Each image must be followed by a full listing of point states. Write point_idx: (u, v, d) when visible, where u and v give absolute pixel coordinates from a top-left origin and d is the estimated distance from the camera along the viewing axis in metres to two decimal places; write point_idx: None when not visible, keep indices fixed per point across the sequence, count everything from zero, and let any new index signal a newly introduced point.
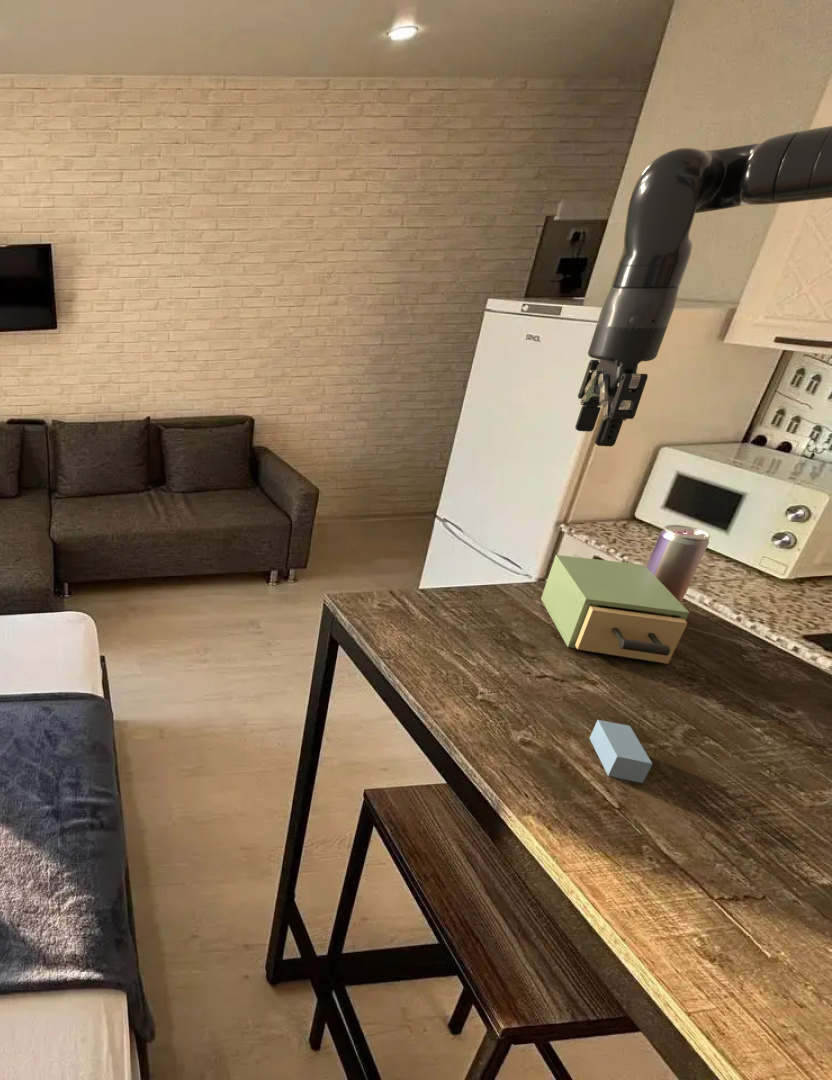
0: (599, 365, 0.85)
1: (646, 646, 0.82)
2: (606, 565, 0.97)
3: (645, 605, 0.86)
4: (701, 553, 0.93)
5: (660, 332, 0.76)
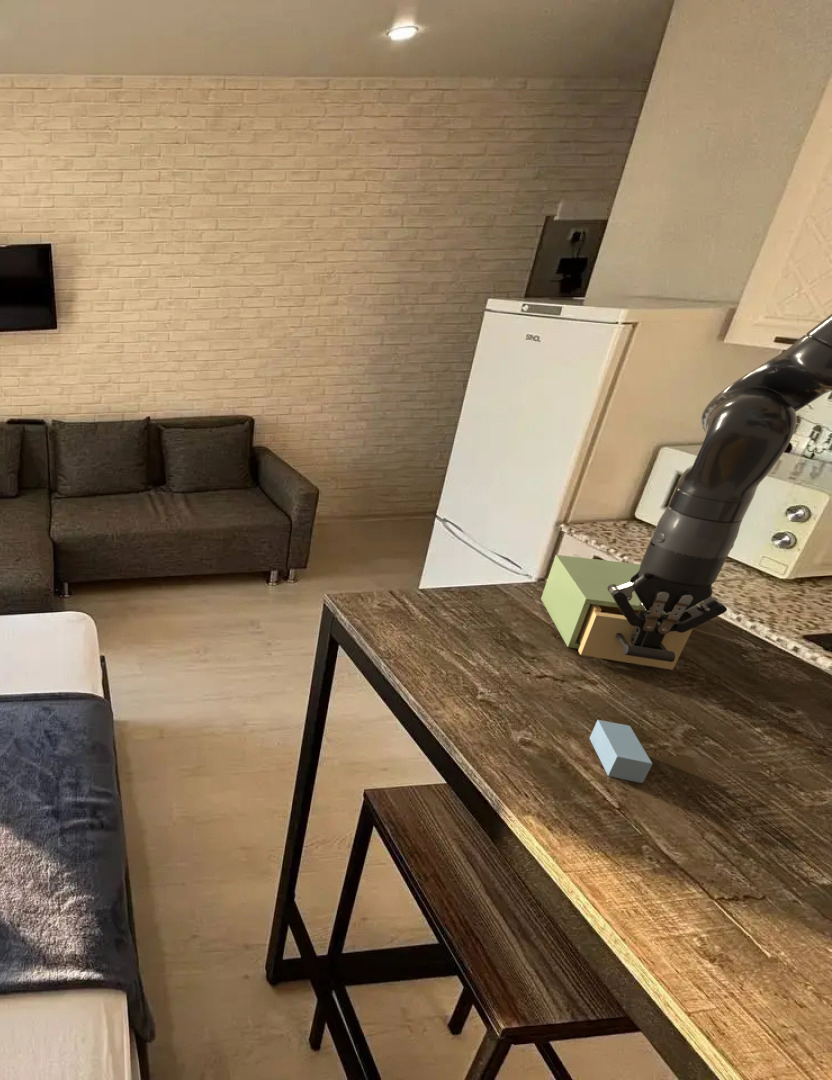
0: (647, 584, 0.79)
1: (651, 653, 0.81)
2: (606, 565, 0.97)
3: None
4: None
5: None
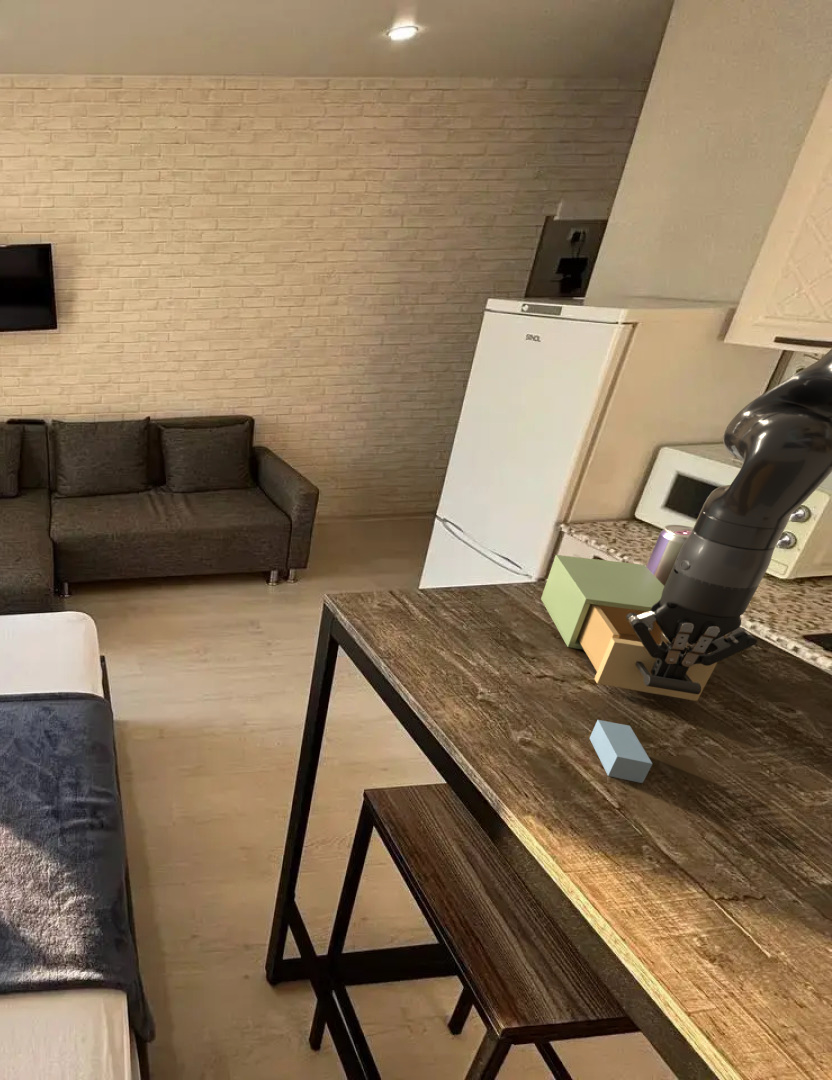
0: (670, 613, 0.73)
1: (674, 684, 0.75)
2: (606, 565, 0.97)
3: (645, 605, 0.86)
4: None
5: None
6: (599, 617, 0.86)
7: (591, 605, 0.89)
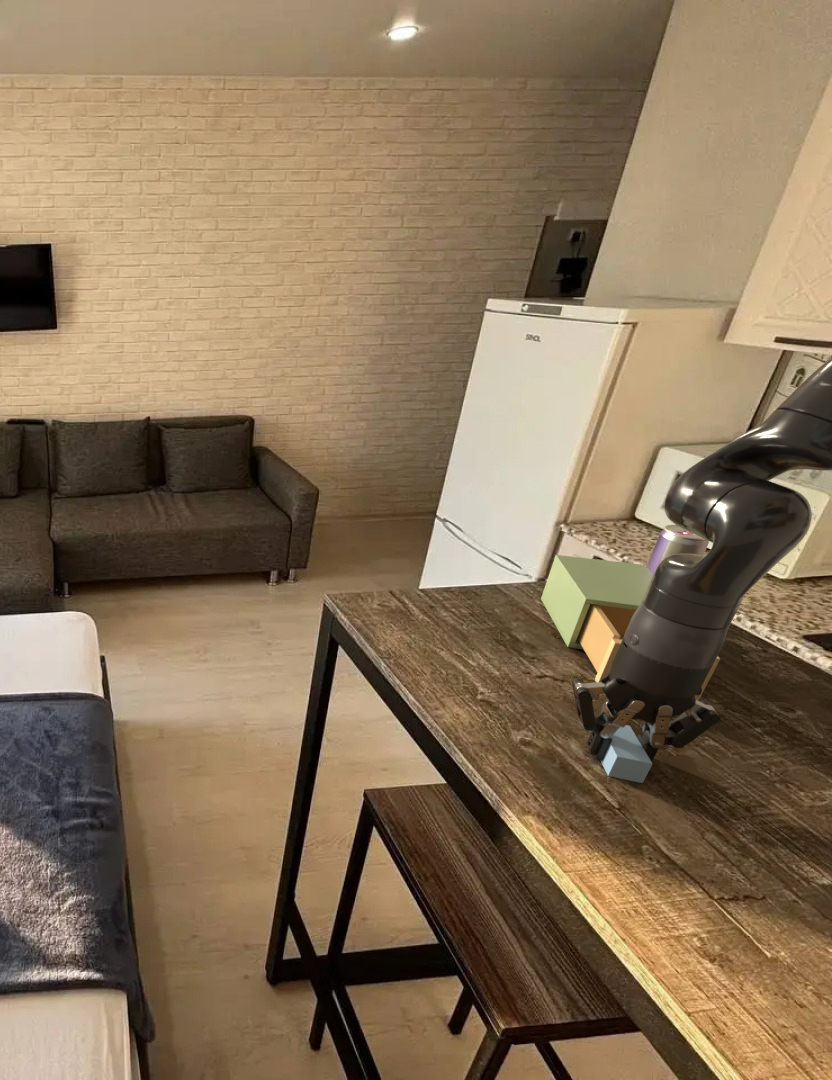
0: (620, 689, 0.67)
1: None
2: (606, 565, 0.97)
3: None
4: (701, 553, 0.93)
5: None
6: (599, 618, 0.86)
7: (591, 606, 0.89)
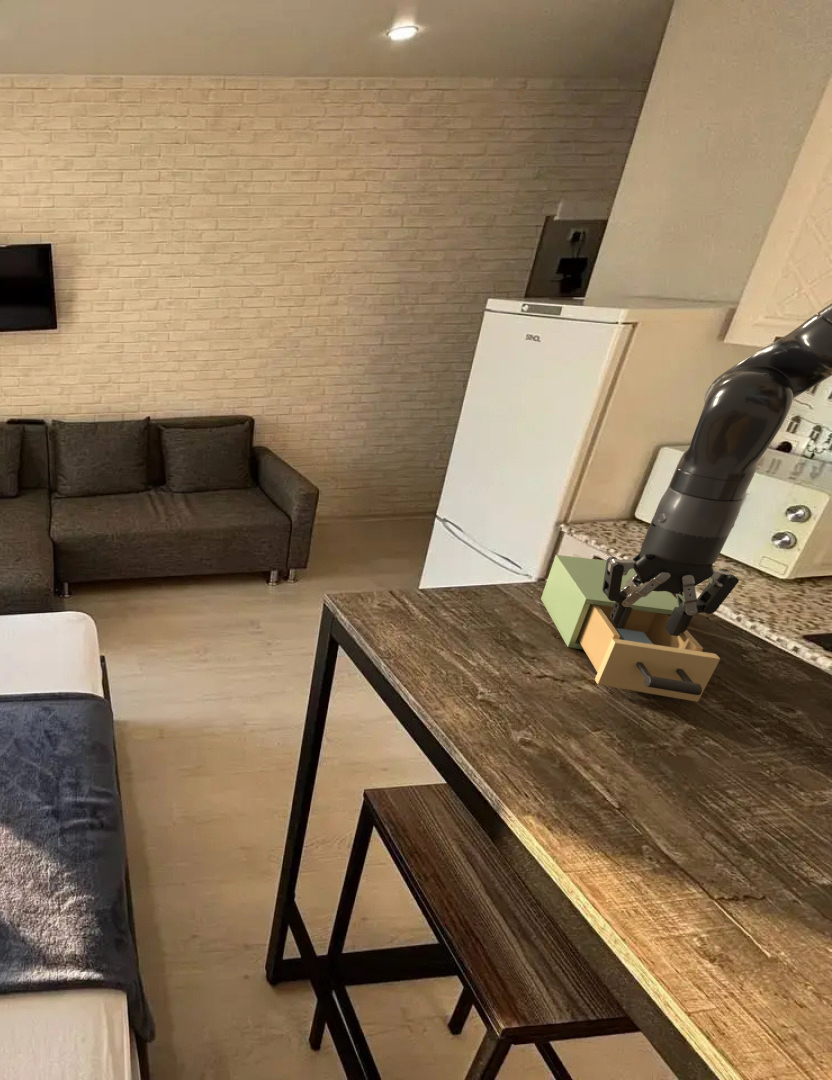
0: (649, 564, 0.79)
1: (675, 685, 0.75)
2: None
3: (645, 605, 0.86)
4: None
5: None
6: (599, 618, 0.86)
7: (591, 606, 0.89)
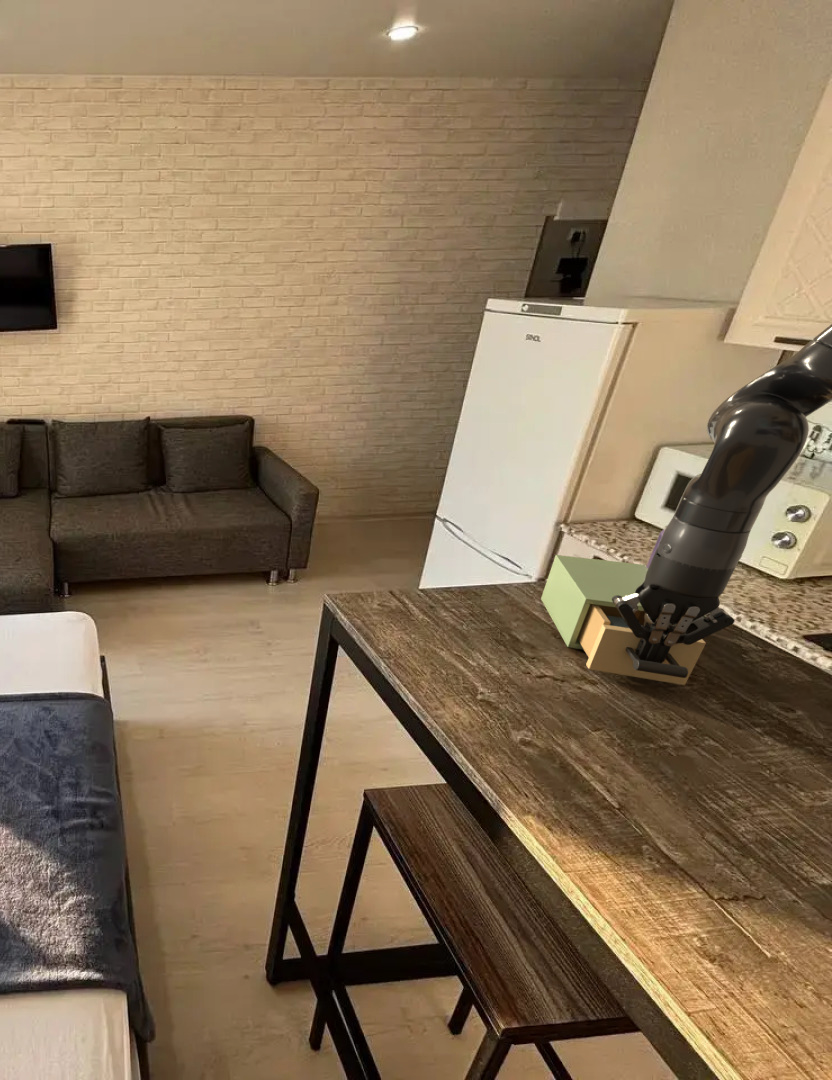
0: (653, 595, 0.77)
1: (662, 668, 0.78)
2: (606, 565, 0.97)
3: None
4: None
5: None
6: (591, 606, 0.89)
7: None
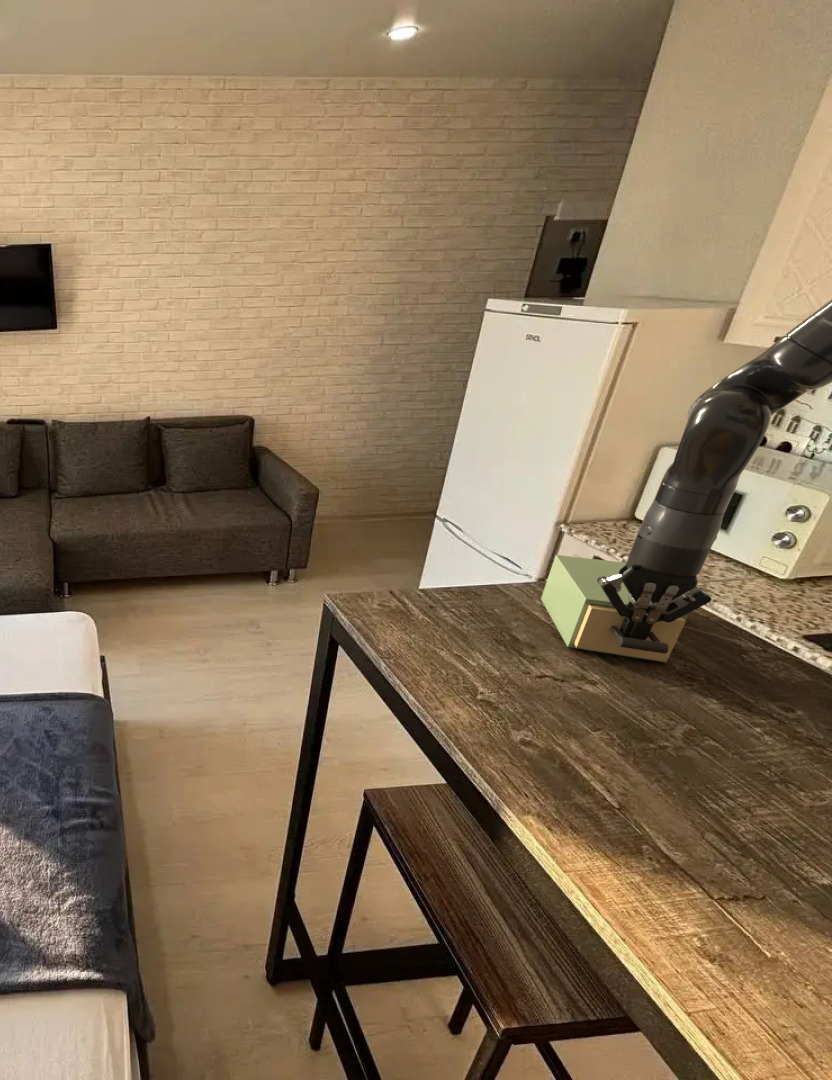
0: (635, 575, 0.82)
1: (644, 644, 0.83)
2: (606, 565, 0.97)
3: None
4: None
5: None
6: None
7: None
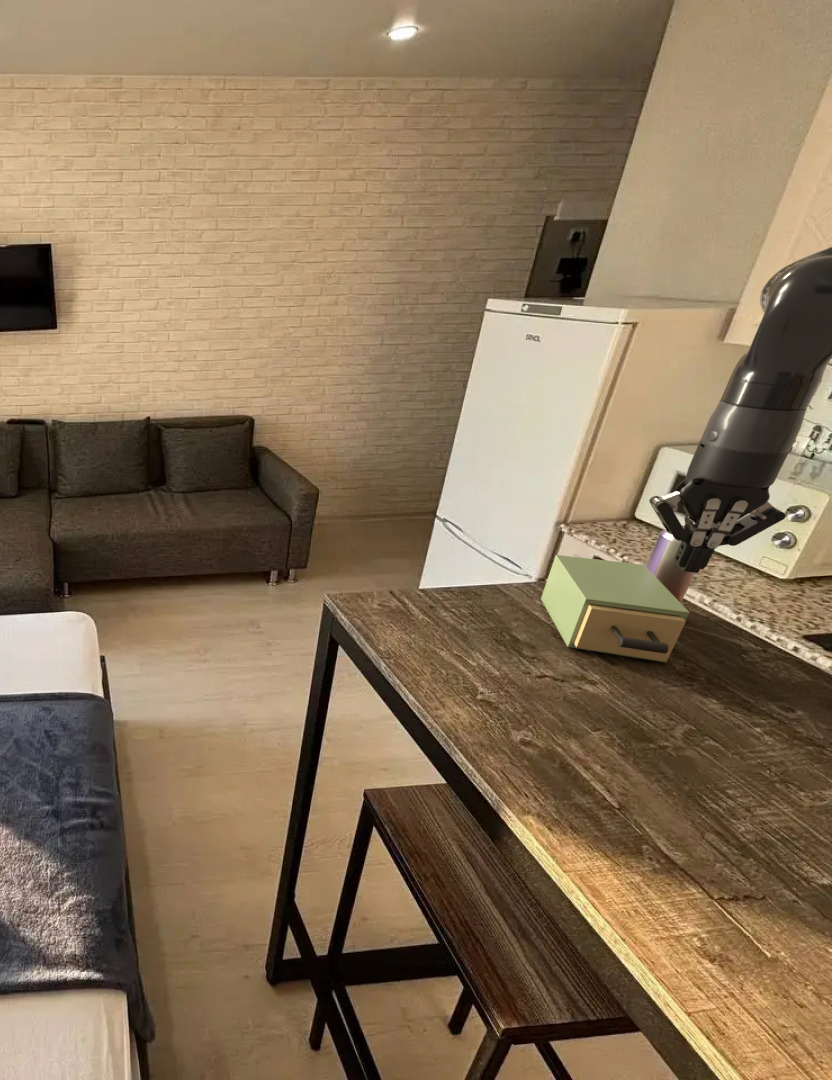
0: (696, 491, 0.71)
1: (644, 644, 0.83)
2: (606, 565, 0.97)
3: (645, 605, 0.86)
4: None
5: None
6: None
7: None
